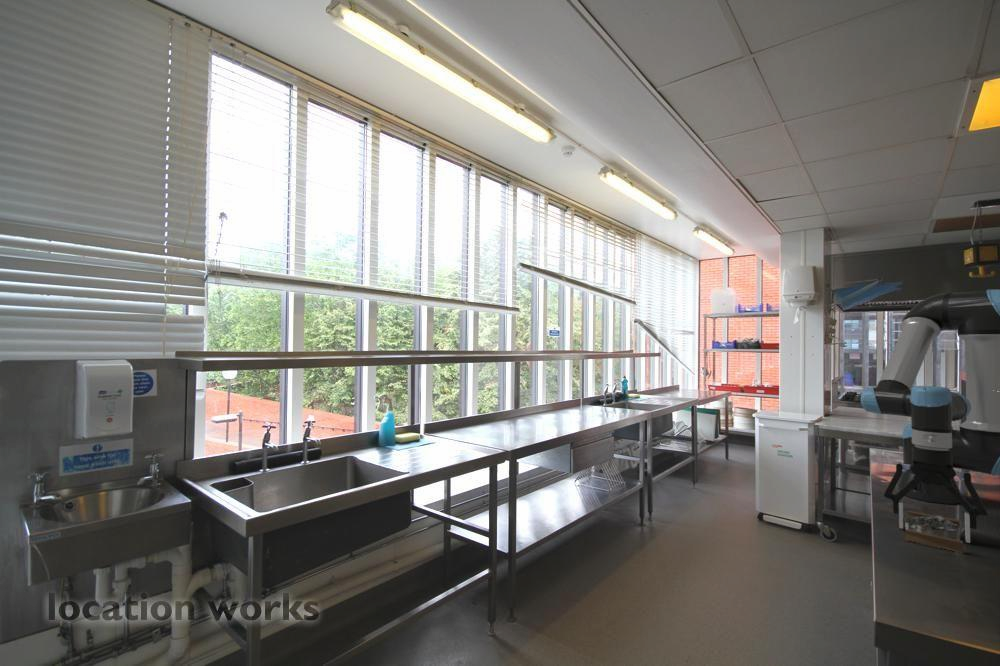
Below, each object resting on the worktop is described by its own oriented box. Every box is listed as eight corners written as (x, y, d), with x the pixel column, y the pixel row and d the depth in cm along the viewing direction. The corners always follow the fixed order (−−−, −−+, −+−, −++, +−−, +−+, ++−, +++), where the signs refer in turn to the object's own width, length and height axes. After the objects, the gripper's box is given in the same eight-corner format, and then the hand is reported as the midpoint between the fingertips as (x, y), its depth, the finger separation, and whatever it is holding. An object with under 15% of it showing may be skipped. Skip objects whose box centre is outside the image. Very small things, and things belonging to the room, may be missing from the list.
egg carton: (923, 540, 112) (923, 524, 112) (898, 528, 119) (898, 512, 119) (968, 541, 111) (968, 524, 111) (940, 528, 119) (940, 513, 119)
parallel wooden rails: (908, 519, 125) (907, 510, 125) (959, 530, 118) (959, 520, 119) (905, 540, 112) (905, 530, 112) (963, 554, 105) (963, 543, 105)
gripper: (870, 442, 121) (871, 524, 120) (1002, 458, 105) (1005, 553, 104) (872, 438, 127) (874, 517, 126) (999, 452, 110) (1001, 543, 110)
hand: (933, 533), depth 115 cm, fingers closed on egg carton, 11 cm apart
